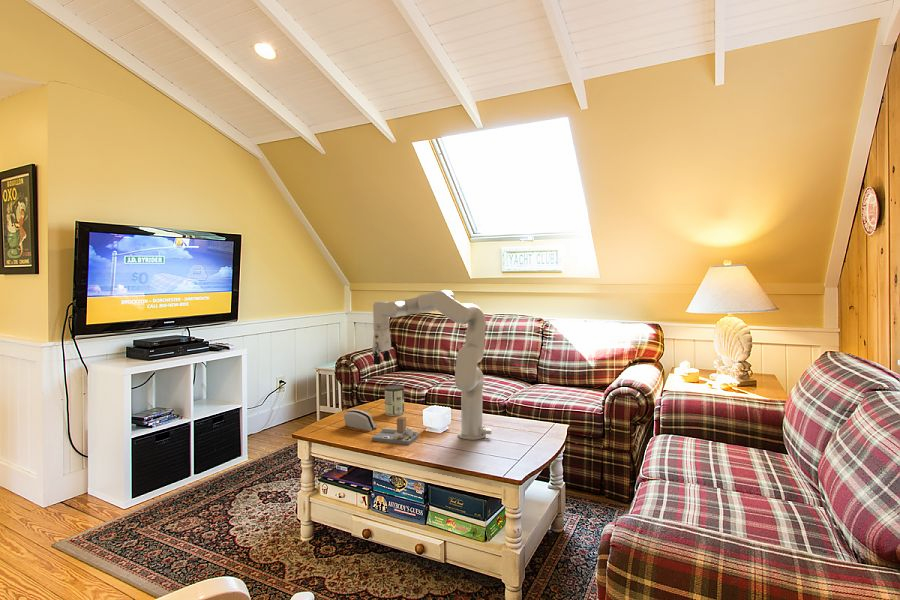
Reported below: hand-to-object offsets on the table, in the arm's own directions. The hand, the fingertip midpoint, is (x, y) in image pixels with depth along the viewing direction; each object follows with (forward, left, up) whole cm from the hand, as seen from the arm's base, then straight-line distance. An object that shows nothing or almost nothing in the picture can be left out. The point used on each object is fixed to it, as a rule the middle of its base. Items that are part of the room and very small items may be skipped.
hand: (381, 362), depth 239 cm
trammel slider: (-17, +16, -29) cm, 38 cm away
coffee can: (+5, -23, -31) cm, 39 cm away
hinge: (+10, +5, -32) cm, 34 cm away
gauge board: (-14, +15, -31) cm, 37 cm away
